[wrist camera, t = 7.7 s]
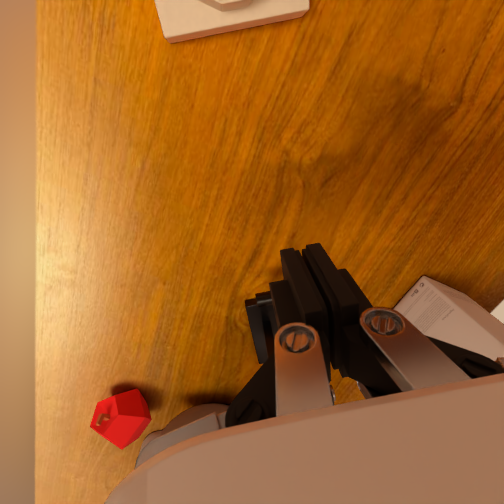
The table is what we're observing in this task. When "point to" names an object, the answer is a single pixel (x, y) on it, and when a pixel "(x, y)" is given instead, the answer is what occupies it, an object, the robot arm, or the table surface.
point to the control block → (222, 15)
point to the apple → (121, 418)
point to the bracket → (265, 331)
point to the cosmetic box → (452, 318)
